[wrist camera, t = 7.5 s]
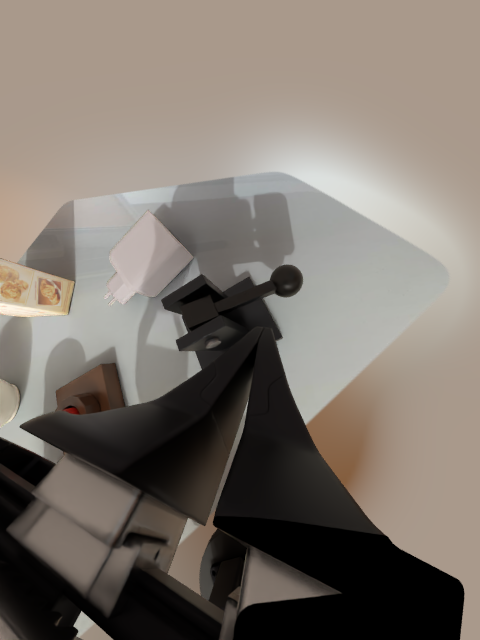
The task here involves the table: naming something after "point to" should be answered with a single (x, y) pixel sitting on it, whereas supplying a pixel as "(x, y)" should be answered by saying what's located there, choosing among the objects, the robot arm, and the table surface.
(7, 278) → the coffeecake box
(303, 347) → the table surface
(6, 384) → the lidded bowl
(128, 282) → the charger
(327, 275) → the table surface
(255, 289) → the lever
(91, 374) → the button block
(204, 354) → the black lever mechanism
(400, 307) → the table surface
